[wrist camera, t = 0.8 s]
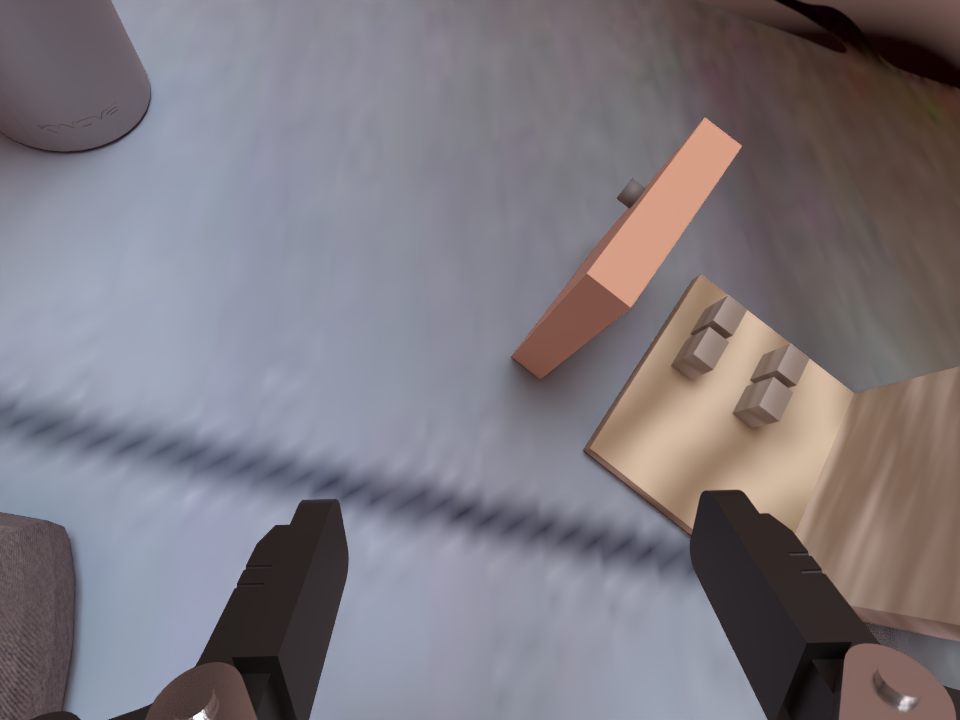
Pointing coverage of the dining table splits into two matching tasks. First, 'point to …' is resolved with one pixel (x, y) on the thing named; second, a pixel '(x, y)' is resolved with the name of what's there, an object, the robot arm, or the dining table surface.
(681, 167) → the door
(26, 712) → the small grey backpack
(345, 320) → the dining table surface
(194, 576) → the dining table surface
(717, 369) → the wooden bookend stand
